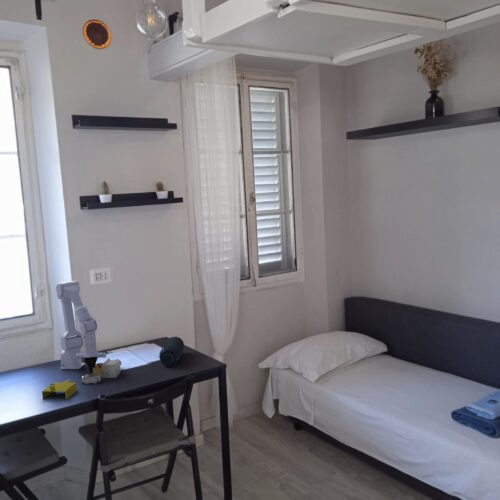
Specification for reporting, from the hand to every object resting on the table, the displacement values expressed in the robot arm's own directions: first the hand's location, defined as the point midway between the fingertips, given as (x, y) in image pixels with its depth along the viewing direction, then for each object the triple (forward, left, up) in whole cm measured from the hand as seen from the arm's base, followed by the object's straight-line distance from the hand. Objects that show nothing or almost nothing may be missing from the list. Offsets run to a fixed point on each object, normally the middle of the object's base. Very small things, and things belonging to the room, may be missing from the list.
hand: (92, 372), depth 253 cm
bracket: (-5, -22, -2) cm, 23 cm away
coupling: (+10, +3, -2) cm, 10 cm away
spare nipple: (+3, -9, -2) cm, 10 cm away
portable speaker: (+34, +21, -2) cm, 40 cm away
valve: (+6, 0, -1) cm, 6 cm away
